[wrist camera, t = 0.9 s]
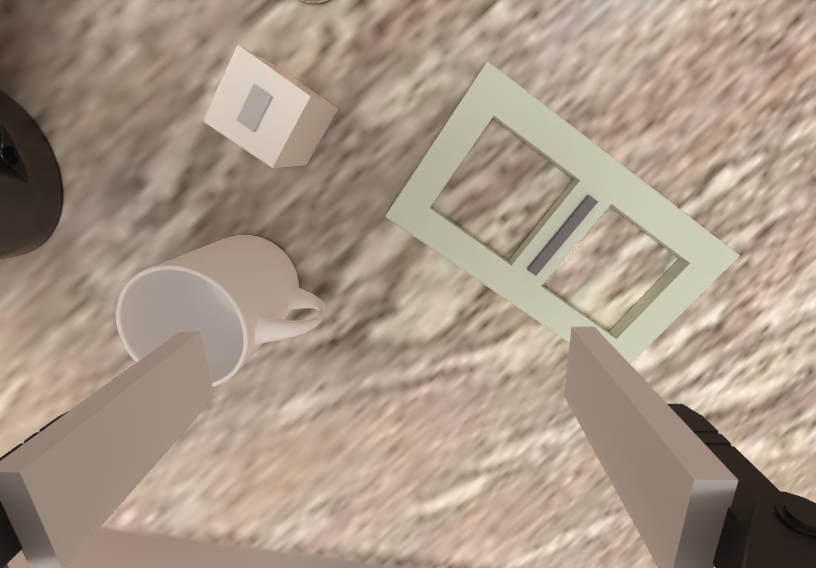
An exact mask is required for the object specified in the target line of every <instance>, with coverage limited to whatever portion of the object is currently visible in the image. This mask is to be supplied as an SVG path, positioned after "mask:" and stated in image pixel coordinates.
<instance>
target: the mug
mask: <svg viewBox="0 0 816 568" xmlns="http://www.w3.org/2000/svg"><path fill="white" fill-rule="evenodd" d="M301 308H312V309H316V310H318V311H319V312H320V314H319V316H317V317H316V318H313V319H309V320H302V321H292V320H285V319H286V318H287V317H288V315H289V314H290V313H291V311H292V310H293V309H301ZM325 313H326V308H325V305H324V303H323V302H322V301H321V300H320V299H319V298H318V297H317V296H315V295H314V294H312V293H310V292H308V291H306V290H304V289H301V288H299V281H298V276H297V272H296V270H295V267H294V265H293V263H292V262H291V260H290V259H289V257H288V256H287V255H286V254H285V252H284V251H283V250H282V249H280V248H279V247H278V246H277V245H275V244H274V243H272V242H270V241H268V240H267V239H264V238H261V237H258V236H253V235H236V236H231V237H228V238H224V239H221V240H219V241H216V242H214V243H211V244H209V245H206V246H204V247H201V248H198V249H196V250H193V251H191V252H188V253H186V254H183V255H181V256H178V257H175V258H173V259H170V260H168V261H165V262H163V263H160V264H158V265H155V266H152V267H150V268H147V269H145V270H143V271H141V272H139V273H138V274H136V275H135V276H133V277H132V278H131V279H130V280H129V281H128V282H127V283H126V285H125V286H124V287H123V289H122V291H121V293H120V295H119V297H118V301H117V305H116V325H117V329H118V333H119V336H120V338H121V341H122V343H123V345H124V347H125V348H126V350H127V352H128V353H129V354H130V356H131V357H132V358H133V359H134V361H135V362H136V363H137V362H138V361H140V360H141V359H143V358H144V357H145V356H147V355H148V354H149V353H151V352H152V351H154V350H155V349H156V348H158V347H159V346H161V345H162V344H163V343H165V342H166V341H168V340H169V339H170V338H172V337H173V336H174V335H176V334H177V333H179V332H194V331H200V333H201V338H202V342H203V347H204V351H205V355H206V360H207V364H208V369H209V373H210V378H211V382H212V387H214V386H217V385H219V384H222V383H223V382H225V381H227V380H228V379H230V378H231V377H232V376H233V375H234V374H235V373H236V372H237V371H238V370H239V369H240V368H241V367H242V366H243V365H244V363H245V362H246V361H247V360H248V359H249V358H250V357H251V356H252V355H253V354H254V353H255V352H256V350H257V349H258V348H259V347H260V346H261V345H262V344H263V343H266V342H272V341H278V340H283V339H288V338H292V337H295V336H298V335H301V334H304V333H306V332H308V331H310V330H311V329H313V328H315V327H316V326H317V325H318V324H319V323H320V322H321V321H322V320H323V318H324V316H325Z"/></svg>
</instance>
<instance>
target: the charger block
mask: <svg viewBox="0 0 816 568" xmlns="http://www.w3.org/2000/svg"><path fill="white" fill-rule="evenodd" d="M337 110H338V109H337V108H336V107H334V106H333V105H332V104H330V103H329V102H327V101H326V100H325V99H323V98H322V97H320V96H319V95H318V94H316V93H315V92H313V91H312V90H311V89H309V88H308V87H306V86H305V85H304V84H302V83H301V82H299V81H298V80H297V79H295V78H294V77H292V76H291V75H290V74H288V73H287V72H285V71H284V70H283V69H281V68H279V67H277V66H276V65H274V64H272V63H270V62H268V61H267V60H265V59H263V58H261V57H259V56H258V55H256V54H254V53H252V52H250V51H249V50H247V49H245V48H243V47H241V46H240V45H238V44H237V47H236V49H235V51H234V53H233V55H232V58H231V60H230V62H229V64H228V66H227V69H226V71H225V73H224V75H223V77H222V79H221V82H220V84H219V86H218V88H217V90H216V93H215V95H214V97H213V99H212V101H211V104H210V106H209V108H208V110H207V112H206V115H205V117H204V119H203V122H205V123H206V124H208V125H209V126H211V127H212V128H214V129H215V130H217V131H218V132H220V133H221V134H223V135H224V136H226V137H227V138H229V139H230V140H232V141H233V142H235V143H236V144H237V145H239V146H240V147H242V148H243V149H245V150H246V151H248V152H249V153H251V154H252V155H254V156H255V157H257V158H258V159H260V160H261V161H263V162H264V163H266V164H267V165H269V166H270V167H271V168H280V167H292V166H304V165H307V164H308V162H309V160H310V158H311V156H312V155H313V153H314V151H315V149H316V148H317V146H318V144H319V142H320V140H321V139H322V137H323V135H324V133H325V132H326V130H327V128H328V126H329V124H330V123H331V121H332V119H333V117H334V115H335V114H336V112H337Z"/></svg>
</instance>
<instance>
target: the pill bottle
mask: <svg viewBox="0 0 816 568" xmlns="http://www.w3.org/2000/svg"><path fill="white" fill-rule="evenodd" d="M299 1H302V2H305V3H322V2H325V1H328V0H299Z"/></svg>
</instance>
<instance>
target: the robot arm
mask: <svg viewBox="0 0 816 568" xmlns="http://www.w3.org/2000/svg"><path fill="white" fill-rule="evenodd" d="M61 198H62V196H61V183H60V177H59V173H58V169H57V165H56V162H55V160H54V157H53V155H52V152H51V150H50V148H49V146H48V144H47V142H46V140H45V139H44V137H43V135H42V134H41V132H40V131H39V129H38V128H37V126H36V125H35V124H34V122H33V121H32V120H31V119H30V117H29V116H28V115H27V114H26V113H25V112H24V111H23V110H22V109H21V108H20V107H19V106H18V105H17V104H16V103H15V102H14V101H13V100H12V99H11V98H9V97H8V96H7V95H5V94H4V93H3V92H1V91H0V260H1V259H5V258H10V257H14V256H18V255H22V254H25V253H28V252H30V251H32V250H34V249H36V248H37V247H39V246H40V245H41V244H42V243H43V242H44V241H45V240H46V239H47V238H48V237H49V236H50V234H51V233H52V231H53V230H54V228H55V226H56V223H57V221H58V218H59V214H60V209H61ZM564 396H565V398H566V400H567V402H568V404H569V405H570V407H571V409H572V411H573V413H574V415H575V416H576V418H577V420H578V422H579V424H580V426H581V427H582V429H583V431H584V433H585V435H586V437H587V438H588V440H589V442H590V444H591V446H592V447H593V449H594V451H595V453H596V455H597V457H598V458H599V460H600V462H601V464H602V466H603V468H604V469H605V471H606V473H607V475H608V477H609V479H610V480H611V482H612V484H613V486H614V488H615V489H616V491H617V493H618V495H619V497H620V499H621V500H622V502H623V504H624V506H625V508H626V510H627V511H628V513H629V515H630V517H631V519H632V521H633V522H634V524H635V526H636V528H637V530H638V532H639V533H640V535H641V537H642V539H643V541H644V542H645V544H646V546H647V548H648V550H649V552H650V553H651V555H652V557H653V559H654V561H655V563H656V564H657V566H658V568H714V566H715V568H816V503H814V502H812V501H810V500H808V499H806V498H804V497H800V496H797V495H794V494H791V493H787V492H781V491H779V490H778V489H777V488H776V487H775V486H774V485H773V484H772V483H771V482H770V481H769V480H768V479H767V478H766V477H765V476H764V475H763V474H762V473H761V472H760V471H759V470H758V469H757V468H756V467H755V466H754V465H753V464H752V463H751V462H749V461H748V460H747V459H746V458H745V457H744V456H743V455H742V454H741V453H740V452H739V451H738V450H737V449H736V448H735V447H734V446H731V443H730V442H729V441H728V440H727V439H726V438H725V437H724V436H723V435H722V434H719V433H718V430H717V429H716V428H715V427H713V426H712V425H711V424H710V423H709V422H708V421H707V420H706V419H705V418H704V417H703V416H702V415H700V414H698V413H697V412H695V411H693V410H692V409H690V408H688V407H686V406H685V405H683V404H667V403H666V402H665V401H664V400H663V399H662V398H661V397H660V396H659V395H658V394H657V393H656V392H655V391H654V390H653V388H652V387H651V386H650V385H649V384H648V383H647V382H646V381H645V380H644V379H643V378H642V377H641V376H640V375H639V374H638V372H637V371H636V370H635V369H634V368H633V367H632V366H631V365H630V364H629V363H628V362H627V361H626V360H625V359H624V357H623V356H622V355H621V354H620V353H619V352H618V351H617V350H616V349H615V348H614V347H613V346H612V345H611V344H610V343H609V341H608V340H607V339H606V338H605V337H604V336H603V335H602V334H601V333H600V332H599V331H598V330H597V329H596V328H595V327H594V326H592V327H571V335H570V345H569V355H568V365H567V375H566V385H565V395H564ZM214 397H215V395H214V391H213V387H212V382H211V378H210V373H209V369H208V364H207V360H206V355H205V351H204V347H203V342H202V338H201V333H200V331H194V332H179V333H177V334H176V335H174V336H173V337H172V338H170V339H169V340H168V341H166V342H165V343H163V344H162V345H161V346H159V347H158V348H156V349H155V350H154V351H152V352H151V353H149V354H148V355H147V356H145V357H144V358H143V359H141V360H140V361H138V362H137V363H136V364H134V365H133V366H131V367H130V368H129V369H127V370H126V371H124V372H123V373H122V374H120V375H119V376H118V377H116V378H115V379H113V380H112V381H111V382H109V383H108V384H106V385H105V386H104V387H102V388H101V389H99V390H98V391H97V392H95V393H94V394H93V395H91V396H90V397H88V398H87V399H86V400H84V401H83V402H81V403H80V404H79V405H77V406H76V407H74V408H73V409H72V410H70V411H68V412H66V413H64V414H62V415H60V416H58V417H57V418H56V419H54V420H53V421H51V422H50V423H49V424H47V425H46V426H44V427H43V428H42V429H40V431H39V432H36V433H35V434H33V435H32V436H30V437H29V438H28V439H26V440H25V441H24V443H23V444H19V445H18V446H16V447H15V448H13V449H12V450H11V451H9V452H8V453H6V454H5V455H4V456H2V457H1V458H0V568H9V567H8V565H7V563H8V562H9V561H10V560H11V559H12V558H13V557H14V556H15V555H16V554H17V553H18V552H19V551H21V550H22V551H23V554H24V556H25V558H26V560H27V562H28V564H29V566H30V568H65V567H66V566H67V565H68V563H69V562H70V561H71V560H72V559H73V558H74V557H75V556H76V554H77V553H78V552H79V551H80V550H81V548H83V546H84V545H85V544H86V543H87V542H88V541H89V539H90V538H91V537H92V536H93V535H94V534H95V533H96V532H97V530H98V529H99V528H100V527H101V526H102V525H103V524H104V522H105V521H106V520H107V519H108V518H109V517H110V516H111V514H112V513H113V512H114V511H115V510H116V509H117V508H118V507H119V505H120V504H121V503H122V502H123V501H124V500H125V499H126V497H127V496H128V495H129V494H130V493H131V492H132V491H133V489H134V488H135V487H136V486H137V485H138V484H139V483H140V481H141V480H142V479H143V478H144V477H145V476H146V475H147V473H148V472H149V471H150V470H151V469H152V468H153V467H154V465H155V464H156V463H157V462H158V461H159V460H160V459H161V458H162V456H163V455H164V454H165V453H166V452H167V451H168V450H169V448H170V447H171V446H172V445H173V444H174V443H175V442H176V440H177V439H178V438H179V437H180V436H181V435H182V434H183V432H184V431H185V430H186V429H187V428H188V427H189V426H190V424H191V423H192V422H193V421H194V420H195V419H196V418H197V416H198V415H199V414H200V413H201V412H202V411H203V410H204V409H205V407H206V406H207V405H208V404H209V403H210V402H211V401H212V399H213V398H214Z"/></svg>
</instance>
